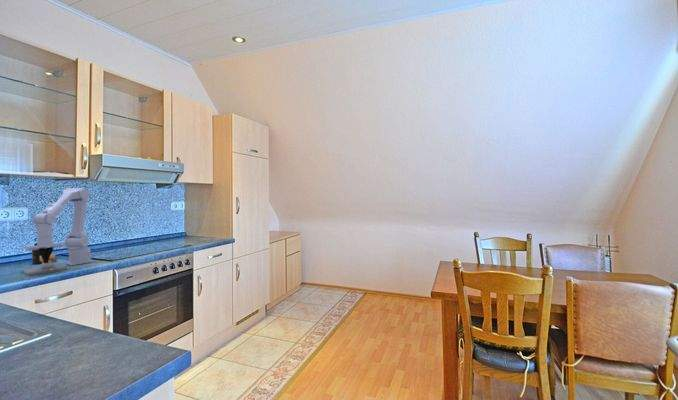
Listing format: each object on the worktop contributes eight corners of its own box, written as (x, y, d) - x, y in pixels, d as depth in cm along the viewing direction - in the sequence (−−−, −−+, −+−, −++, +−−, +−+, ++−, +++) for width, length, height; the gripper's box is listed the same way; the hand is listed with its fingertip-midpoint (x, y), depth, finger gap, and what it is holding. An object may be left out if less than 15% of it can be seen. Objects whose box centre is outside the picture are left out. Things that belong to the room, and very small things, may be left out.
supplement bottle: (29, 265, 177) (28, 244, 177) (37, 262, 183) (36, 242, 183) (43, 264, 179) (42, 243, 178) (51, 261, 185) (50, 241, 185)
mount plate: (59, 266, 173) (59, 257, 173) (67, 269, 165) (66, 260, 165) (21, 272, 161) (21, 262, 161) (27, 276, 153) (27, 266, 152)
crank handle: (38, 260, 163) (38, 255, 163) (53, 258, 169) (52, 253, 168) (47, 263, 156) (47, 258, 156) (62, 261, 161) (62, 256, 161)
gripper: (27, 238, 150) (28, 266, 150) (65, 235, 162) (66, 261, 162) (23, 237, 154) (24, 264, 154) (61, 234, 166) (62, 259, 166)
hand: (45, 262), depth 158 cm, fingers closed
